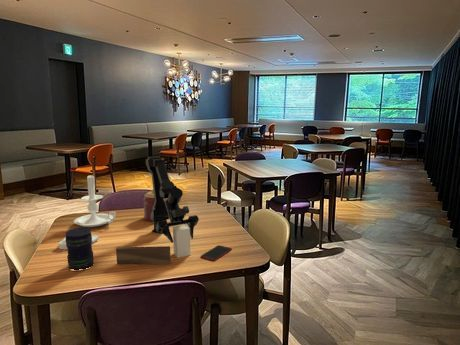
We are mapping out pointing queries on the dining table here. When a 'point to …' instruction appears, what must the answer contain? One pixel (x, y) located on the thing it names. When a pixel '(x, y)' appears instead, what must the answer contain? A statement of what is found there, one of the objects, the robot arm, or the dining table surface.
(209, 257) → the cell phone
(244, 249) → the dining table surface
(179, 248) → the off-white cabinet box
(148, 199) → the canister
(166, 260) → the stand
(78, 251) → the storage jar
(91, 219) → the candlestick
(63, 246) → the white brass knuckles
